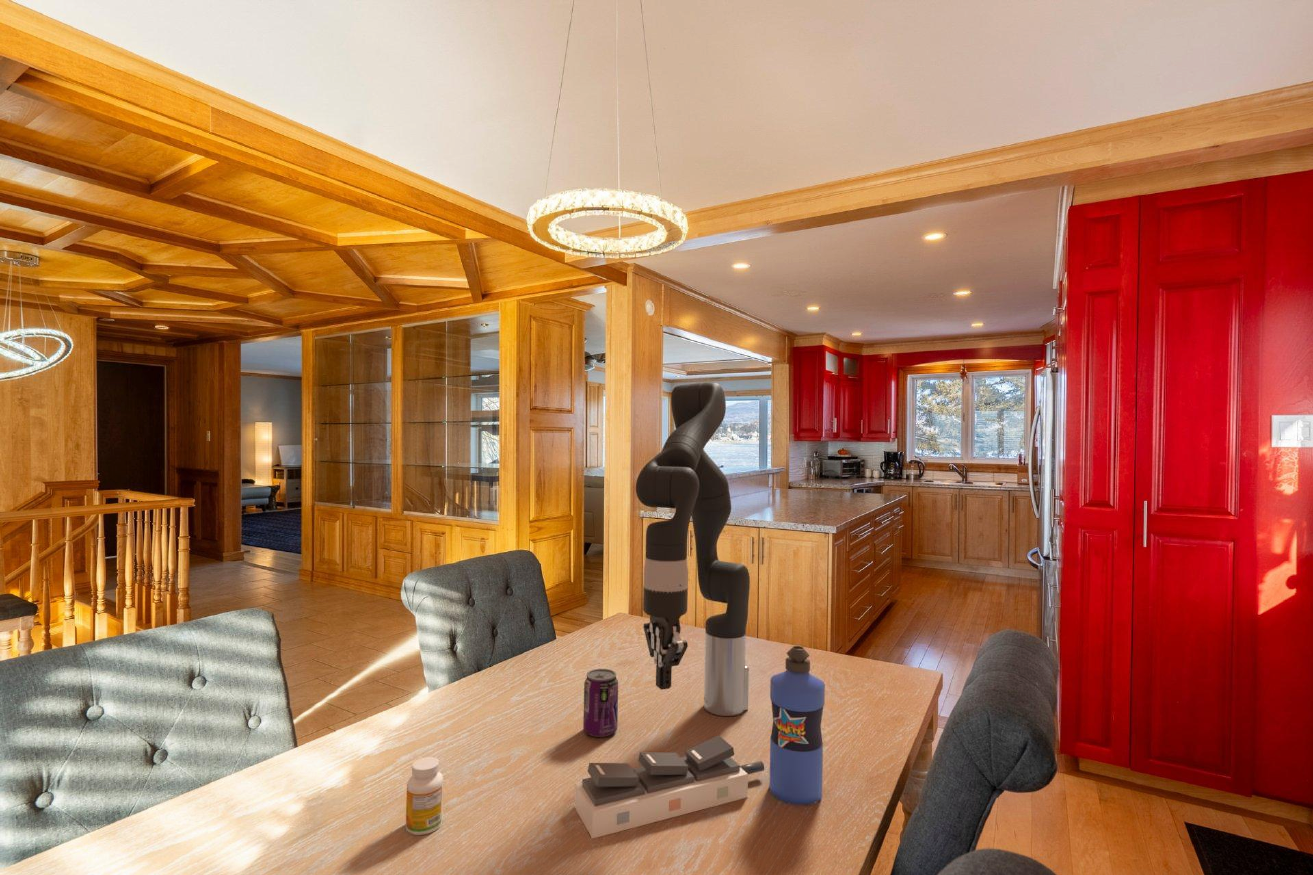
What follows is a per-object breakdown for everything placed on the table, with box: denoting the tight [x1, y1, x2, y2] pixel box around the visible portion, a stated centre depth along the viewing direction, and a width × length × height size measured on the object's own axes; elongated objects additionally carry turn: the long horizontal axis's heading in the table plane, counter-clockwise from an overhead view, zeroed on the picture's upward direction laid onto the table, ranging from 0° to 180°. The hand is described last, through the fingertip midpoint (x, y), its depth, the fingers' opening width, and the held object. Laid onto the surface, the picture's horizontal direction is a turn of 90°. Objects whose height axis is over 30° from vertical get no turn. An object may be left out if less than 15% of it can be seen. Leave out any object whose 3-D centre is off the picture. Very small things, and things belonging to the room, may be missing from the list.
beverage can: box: [582, 668, 619, 738], centre depth 130 cm, size 7×7×12 cm
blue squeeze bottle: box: [768, 645, 826, 806], centre depth 109 cm, size 9×9×25 cm
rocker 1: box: [587, 762, 639, 787], centre depth 101 cm, size 7×5×2 cm
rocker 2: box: [637, 751, 689, 775], centre depth 105 cm, size 7×5×2 cm
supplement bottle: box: [405, 756, 444, 836], centre depth 98 cm, size 5×5×10 cm
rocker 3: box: [684, 735, 735, 771], centre depth 109 cm, size 7×5×2 cm
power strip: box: [574, 755, 765, 839], centre depth 106 cm, size 34×9×5 cm, turn 115°
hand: (663, 687), depth 105 cm, fingers closed
